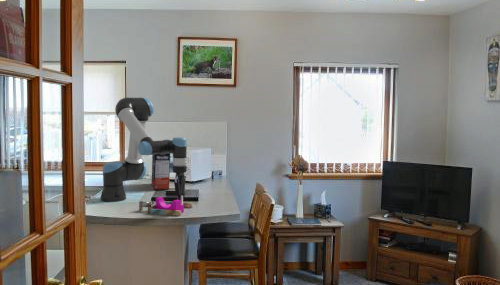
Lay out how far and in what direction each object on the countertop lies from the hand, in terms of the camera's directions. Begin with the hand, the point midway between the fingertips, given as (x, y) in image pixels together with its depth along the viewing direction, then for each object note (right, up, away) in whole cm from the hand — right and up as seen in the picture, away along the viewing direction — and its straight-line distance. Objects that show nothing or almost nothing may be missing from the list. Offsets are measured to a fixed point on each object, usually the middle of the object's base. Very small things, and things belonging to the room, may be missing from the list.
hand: (180, 206), depth 233 cm
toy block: (-6, -3, -1) cm, 6 cm away
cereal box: (-26, +4, +70) cm, 74 cm away
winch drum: (-20, -2, 0) cm, 20 cm away
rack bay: (-5, -2, +1) cm, 5 cm away
